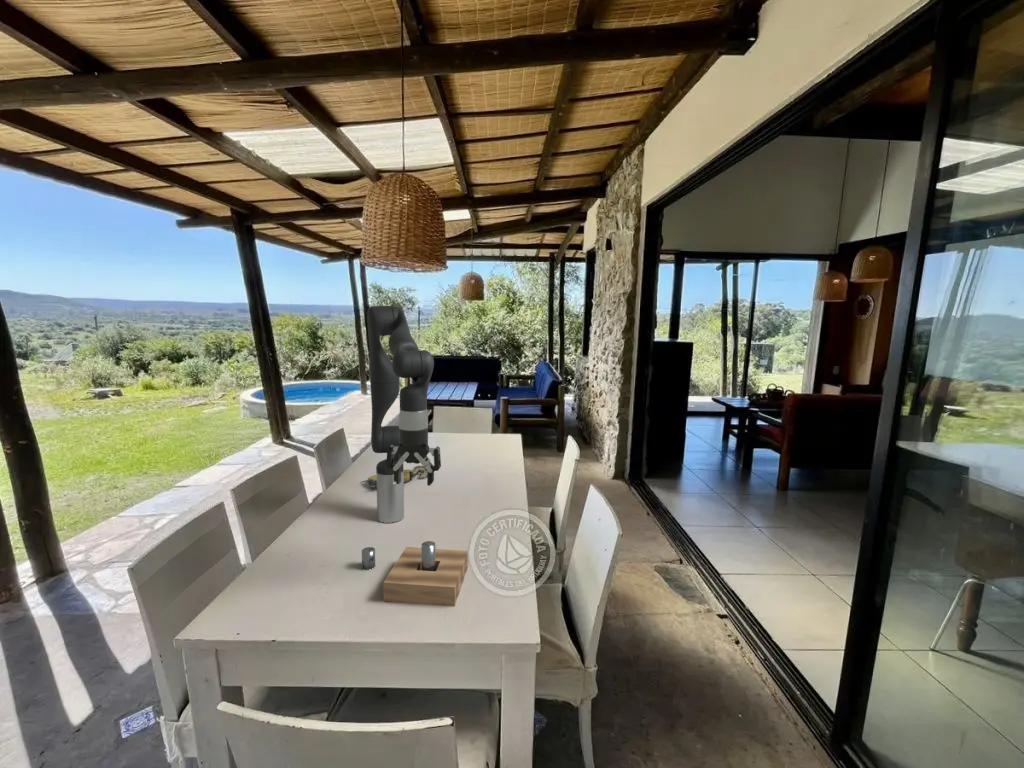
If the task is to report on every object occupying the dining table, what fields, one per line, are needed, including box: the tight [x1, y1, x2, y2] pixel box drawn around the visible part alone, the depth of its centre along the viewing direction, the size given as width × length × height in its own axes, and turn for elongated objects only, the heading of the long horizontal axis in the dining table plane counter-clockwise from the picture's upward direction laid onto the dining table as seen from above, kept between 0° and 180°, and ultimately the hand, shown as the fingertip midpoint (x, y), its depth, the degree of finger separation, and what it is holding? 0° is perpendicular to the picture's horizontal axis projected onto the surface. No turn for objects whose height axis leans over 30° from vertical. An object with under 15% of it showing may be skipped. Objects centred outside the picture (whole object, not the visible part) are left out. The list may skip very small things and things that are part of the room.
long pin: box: [421, 540, 436, 571], centre depth 120 cm, size 4×4×11 cm
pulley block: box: [361, 465, 428, 489], centre depth 195 cm, size 14×6×30 cm
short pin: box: [361, 546, 376, 571], centre depth 127 cm, size 4×4×5 cm
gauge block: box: [382, 546, 469, 607], centre depth 120 cm, size 18×18×5 cm
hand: (413, 483), depth 122 cm, fingers open, 8 cm apart
